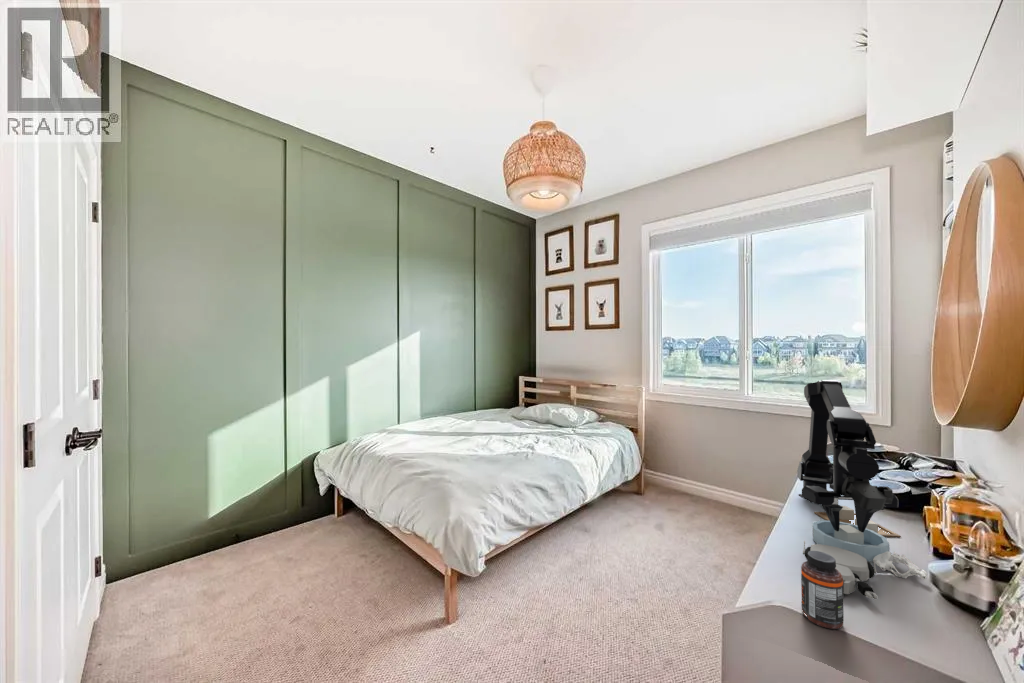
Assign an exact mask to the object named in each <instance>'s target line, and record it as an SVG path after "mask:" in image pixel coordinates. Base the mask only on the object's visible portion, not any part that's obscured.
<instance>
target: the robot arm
mask: <svg viewBox="0 0 1024 683" xmlns="http://www.w3.org/2000/svg"><path fill="white" fill-rule="evenodd" d="M843 391H844V390H843V384H842V382H841V381H840V380H839V381H838V380H837V379H836V380H835V379H834V380H833V379H821V380H818V381H815V382H810V383H806V385H805V386H804V388H803V396H804V398H805V400H806V402H807V404H808V406H809V407H810V409H811V412H810V414H811V415H810V428H809V442H808V449H807V450H806V451H805V452H804V453H803V454H802V455H801V461H799V464H798V466H797V470H796V471H797V472H796V474H797V479H799V481H800V482H802V483H803V487H802V488H801V493H799V494H798V496H799V497H801V498H803V499H804V500H806V501H808V502H809V501H810V502H809V503H812V502H813V503H814V504H815V505H820V506H821V507H822V509H823V510H824V512H826V514H827V516H828V518H829V520H830V522H831V524H832V526H833V528H834V530H836V531H839V526H840V522H839V511H840V510H841V509H842V508H843V507H842V506H843V505H840V504H839V500H841V501H853V505H854V513H856V521H857V526H858V530H859V531H861V532H864V531H865V529H866V527H867V525H868V523H869V520H871V519H872V517H873V516H874V514H875V513H877V512H880V511H884V510H885V508H899V498H898V497H897V496H896V494H895V493H894V491H893V489H891V487H889V486H886V485H885V486H884V485H883V486H882V485H880V486H877V485H872V484H871V483H870V479H873V478H874V477H876V476H877V475H878V474H879V472H880V465H879V463H878V461H877V460H876V459H875V457H872V456H871V455H870V454H868V450H876V446H875V445H876V443H877V441H876V438H875V434H874V432H873V429H872V427H871V426H870V423H869V422H867V421H866V419H865V418H864V416H863V415H862V414H861V413H860V412H858V411H855V410H853V409H852V407H851V405H850V403H849V401H848V399H847V397H846V395H845V392H843ZM828 439H829V440H830V443H831V445H833V446H832V462H831V460H830V458H829V457H828V455H827V454H828V453H827V451H828V450H827V448H828V441H829V440H828ZM832 463H833V464H832ZM828 485H829V489H831V490H828V488H827V487H828Z"/></svg>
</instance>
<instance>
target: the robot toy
mask: <svg viewBox="0 0 1024 683" xmlns="http://www.w3.org/2000/svg"><path fill="white" fill-rule="evenodd" d="M809 551H820V552H824V553H826V554H829V555H831V556H832V557H834V558H835V560H836V569H837V570H838V571H839V572H840V573H841V575H842V577H843V595H850V593H854V592H855V591H856V587H857V591H858V592H860V594H862V596H864V597H866V598H868V599H870V600H873V599H874V600H878V599H879V597H878V595H877V593H875V592H874V589H873V587H872V586H871V585H870V584H869V583H867V582H866V581H868V579H872V578H873V577H874V576H875V575H877V573H878V572H877V569H876V563H875V559H874V558H873V561H872V562H873V564H872V563H871V561H867V560H866V558H864V557H862V556H861V555H859V554H856V553H854V552H851V551H848V550H845V549H841V548H838V547H833V546H828V545H821V544H817V543H815V544H814V543H813V544H811V545H810V546H807V547H806V541H805V540H804V541H803V550H802V555H804V557H805V559H806V560H807V556H808V552H809Z"/></svg>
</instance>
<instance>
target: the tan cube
mask: <svg viewBox="0 0 1024 683" xmlns="http://www.w3.org/2000/svg"><path fill="white" fill-rule="evenodd" d="M841 506H842V507H843V508H842V509H841V510H840V511H839V518H840V519H842V520H854V513H855V509H852V508H850V507H848V506H846V505H841Z"/></svg>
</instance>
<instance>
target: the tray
mask: <svg viewBox="0 0 1024 683" xmlns="http://www.w3.org/2000/svg"><path fill="white" fill-rule="evenodd" d="M813 514H815V515H816V516H818V517H820V518H822V519H823V520H827V521H830V520H829V518H828V516H827V514H826V512H825V511H813ZM854 515H856V513H855V512H854ZM839 522H844V523H849V524H851V521H849V520H842V519H840V518H839ZM875 523H876V524H878V527H879V528H881V529H880V530H879V531H878V534H880V535H882V536H883V537H885V538H895V537H897V538H898V537H901V538H902V536H901V535H900V534H898V533H896V532H894V531H892V530H890V529H888V528H887V527H884V526H883V525H880V524H879V523H877V522H875ZM853 524H854V523H853ZM883 531H884V532H883ZM885 532H886V533H885ZM888 532H889V533H890V534H889V533H888ZM887 533H888V534H887ZM897 538H896V539H897Z"/></svg>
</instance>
